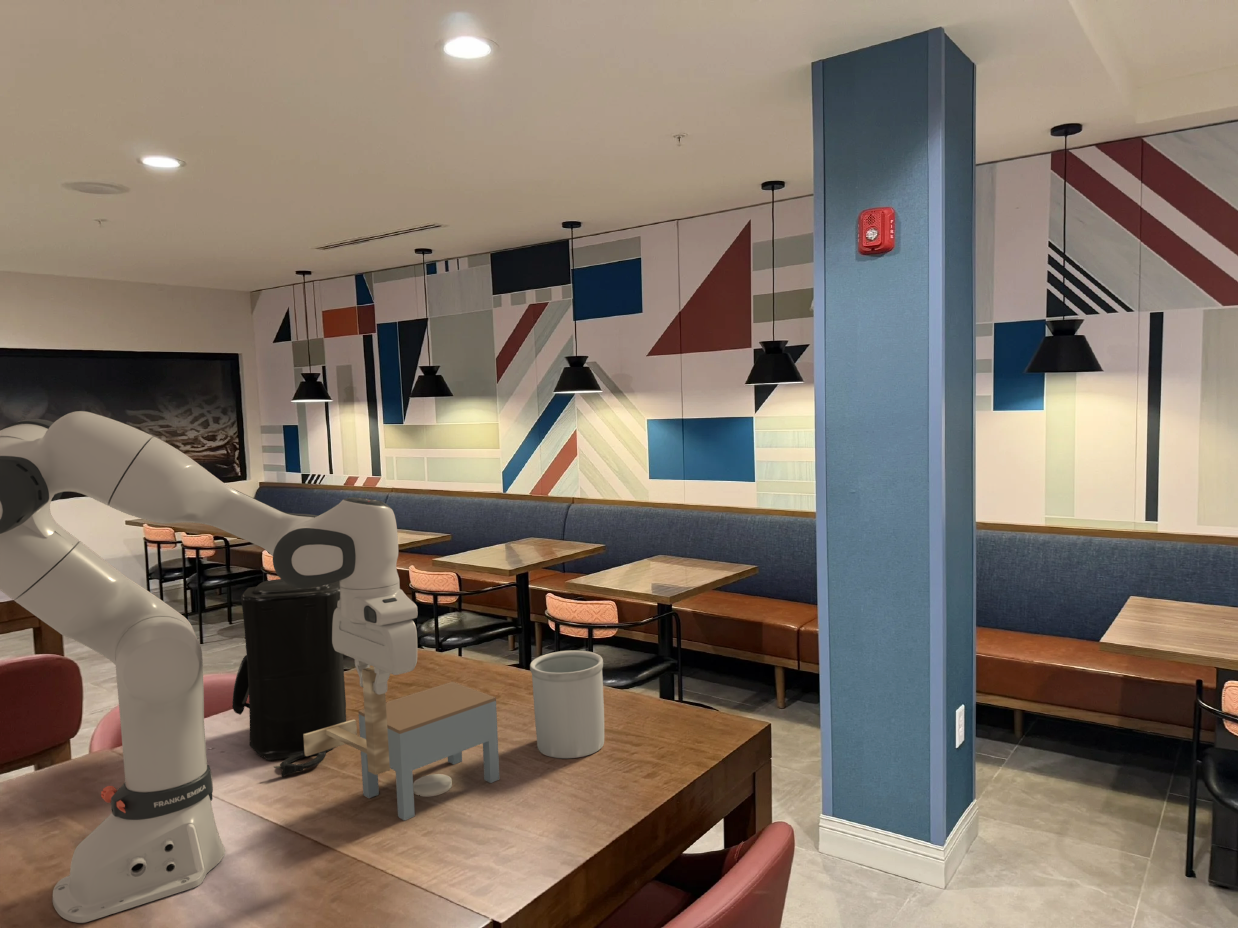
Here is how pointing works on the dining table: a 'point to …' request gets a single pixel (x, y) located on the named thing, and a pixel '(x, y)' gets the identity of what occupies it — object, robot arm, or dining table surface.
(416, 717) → the wooden top stool
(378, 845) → the dining table surface
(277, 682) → the coffee maker
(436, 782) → the smooth oval stone
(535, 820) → the dining table surface
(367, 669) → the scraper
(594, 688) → the utensil holder
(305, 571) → the robot arm
